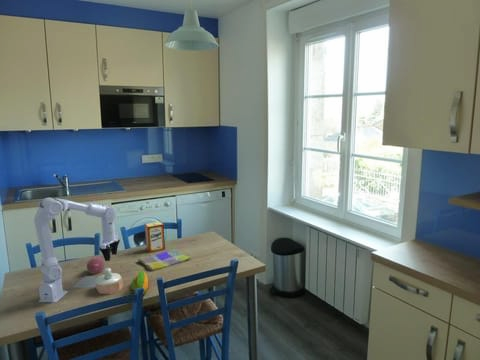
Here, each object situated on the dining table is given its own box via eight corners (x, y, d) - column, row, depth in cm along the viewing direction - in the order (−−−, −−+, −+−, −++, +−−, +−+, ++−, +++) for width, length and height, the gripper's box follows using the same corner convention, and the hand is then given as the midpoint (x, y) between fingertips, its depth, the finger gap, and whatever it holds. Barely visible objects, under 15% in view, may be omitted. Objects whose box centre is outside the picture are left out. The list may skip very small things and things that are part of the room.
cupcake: (82, 274, 182) (91, 273, 174) (84, 257, 185) (93, 256, 176) (99, 274, 188) (109, 273, 180) (101, 257, 190) (110, 256, 182)
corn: (130, 283, 155) (133, 264, 174) (130, 299, 156) (133, 279, 175) (148, 282, 157) (149, 264, 176) (148, 298, 158) (149, 278, 177)
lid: (112, 286, 159) (112, 275, 158) (90, 284, 161) (89, 273, 160) (125, 275, 170) (124, 265, 169) (103, 273, 172) (102, 263, 171)
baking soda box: (149, 252, 210) (147, 226, 207) (146, 249, 216) (144, 223, 213) (165, 249, 214) (163, 223, 211) (162, 246, 220) (160, 221, 217)
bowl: (116, 294, 161) (115, 285, 160) (93, 294, 162) (92, 285, 161) (125, 283, 171) (124, 275, 170) (104, 283, 172) (103, 274, 171)
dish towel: (191, 261, 198) (190, 256, 197) (149, 273, 184) (148, 268, 183) (176, 251, 212) (176, 247, 211) (136, 262, 197) (136, 257, 197)
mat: (97, 288, 167) (97, 287, 167) (72, 288, 168) (72, 287, 168) (108, 277, 179) (108, 276, 178) (85, 276, 179) (85, 276, 179)
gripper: (110, 235, 167) (112, 263, 169) (122, 226, 181) (124, 251, 183) (95, 235, 167) (98, 263, 170) (109, 226, 181) (111, 251, 184)
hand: (110, 257), depth 177 cm, fingers open, 7 cm apart
